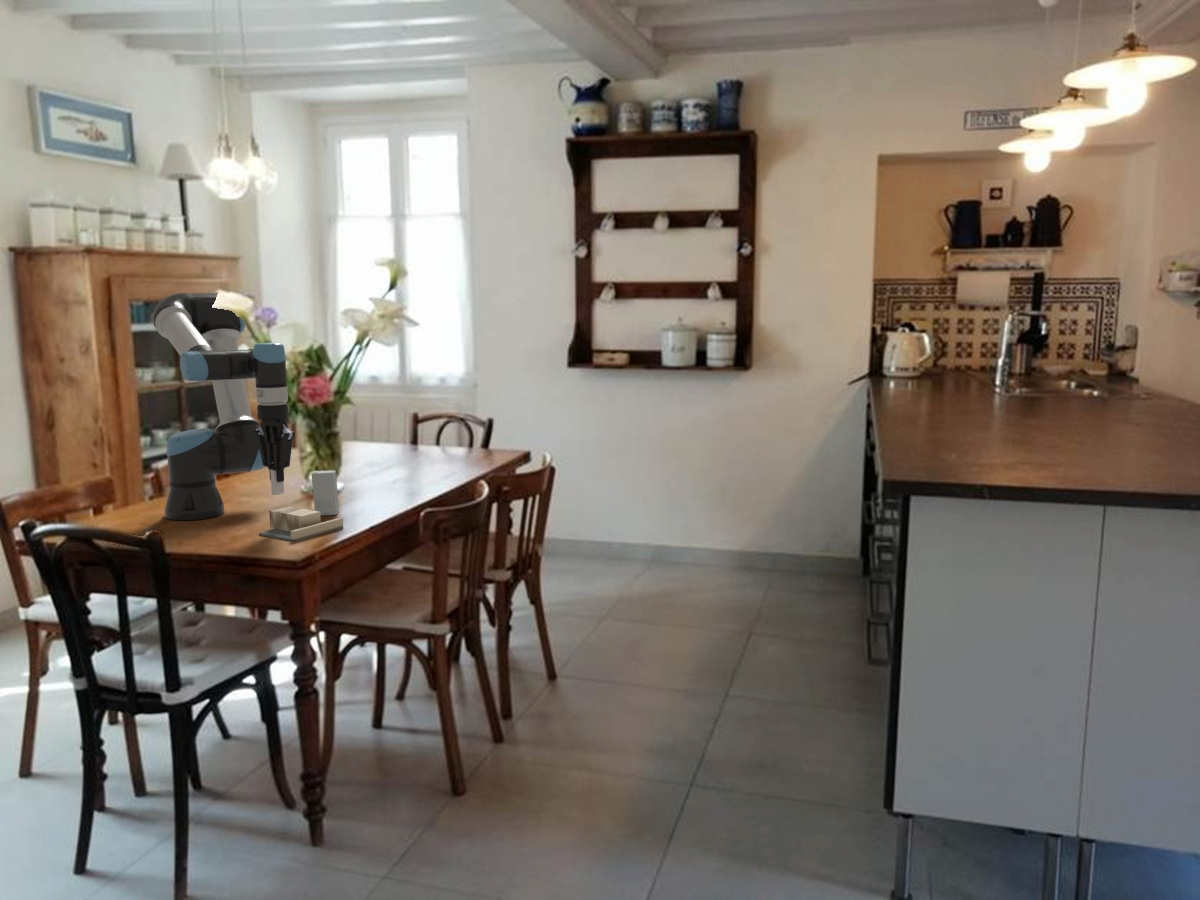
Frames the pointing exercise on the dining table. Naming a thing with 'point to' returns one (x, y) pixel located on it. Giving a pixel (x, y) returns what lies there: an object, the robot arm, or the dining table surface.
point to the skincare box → (325, 492)
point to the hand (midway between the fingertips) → (277, 493)
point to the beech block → (293, 518)
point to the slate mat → (305, 531)
